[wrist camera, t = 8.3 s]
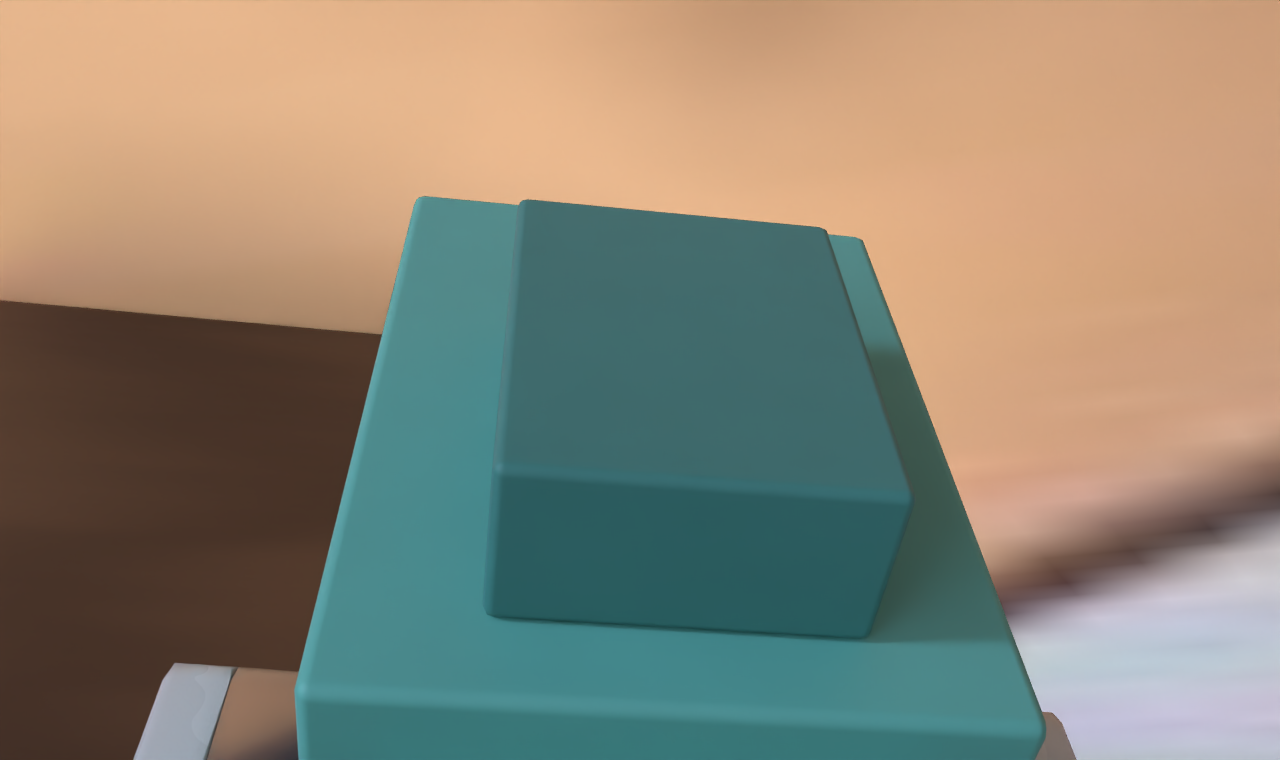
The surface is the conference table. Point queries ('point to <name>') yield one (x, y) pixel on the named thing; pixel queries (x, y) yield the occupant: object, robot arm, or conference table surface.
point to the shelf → (159, 508)
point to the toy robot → (650, 510)
